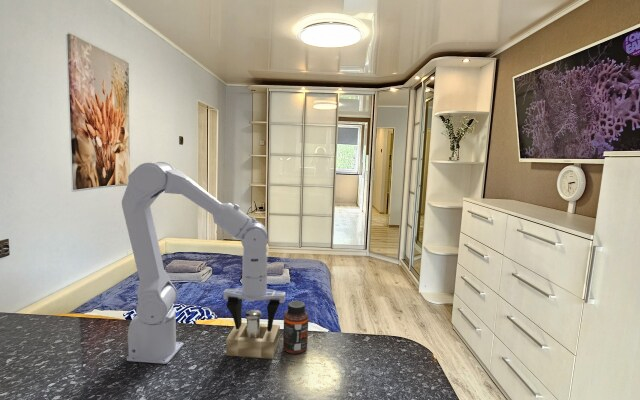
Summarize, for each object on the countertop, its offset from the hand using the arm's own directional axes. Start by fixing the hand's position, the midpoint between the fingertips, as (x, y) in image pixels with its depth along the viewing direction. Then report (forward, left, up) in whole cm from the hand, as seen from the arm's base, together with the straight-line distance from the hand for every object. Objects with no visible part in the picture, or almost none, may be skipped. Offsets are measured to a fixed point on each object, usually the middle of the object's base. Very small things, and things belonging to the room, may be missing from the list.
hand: (254, 328), depth 80 cm
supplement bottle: (+10, +1, -5) cm, 11 cm away
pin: (0, -1, -5) cm, 5 cm away
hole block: (0, 0, -5) cm, 5 cm away
